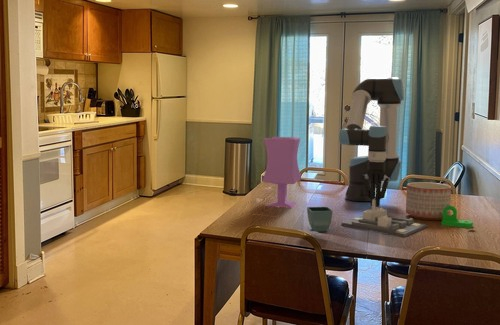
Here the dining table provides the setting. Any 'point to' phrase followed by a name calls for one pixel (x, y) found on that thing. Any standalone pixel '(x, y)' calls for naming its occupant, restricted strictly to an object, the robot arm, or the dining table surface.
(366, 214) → the tab middle
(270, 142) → the purple table lamp
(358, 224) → the switch board
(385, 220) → the tab near
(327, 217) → the flower pot
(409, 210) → the planter
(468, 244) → the dining table surface
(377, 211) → the tab far
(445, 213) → the mechanical part
